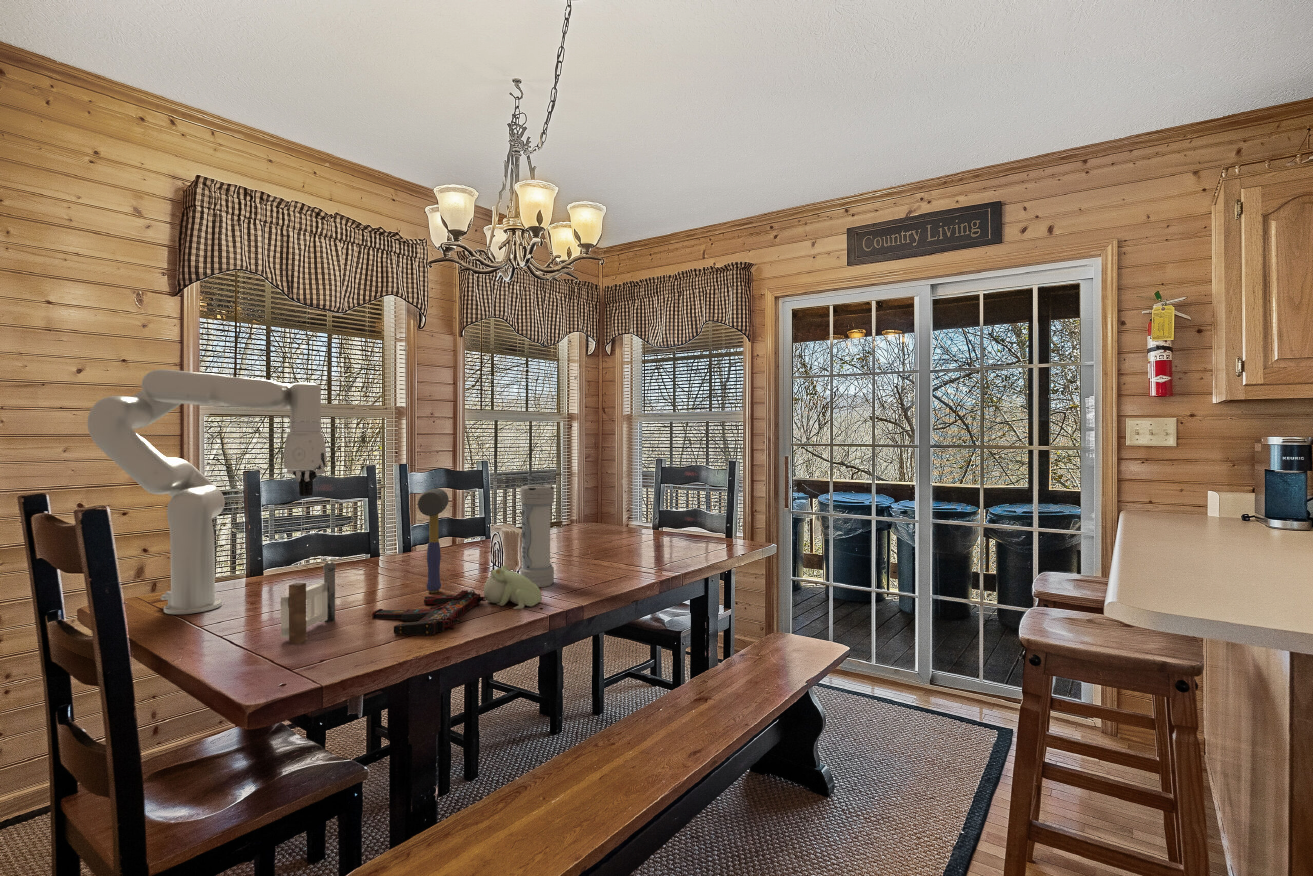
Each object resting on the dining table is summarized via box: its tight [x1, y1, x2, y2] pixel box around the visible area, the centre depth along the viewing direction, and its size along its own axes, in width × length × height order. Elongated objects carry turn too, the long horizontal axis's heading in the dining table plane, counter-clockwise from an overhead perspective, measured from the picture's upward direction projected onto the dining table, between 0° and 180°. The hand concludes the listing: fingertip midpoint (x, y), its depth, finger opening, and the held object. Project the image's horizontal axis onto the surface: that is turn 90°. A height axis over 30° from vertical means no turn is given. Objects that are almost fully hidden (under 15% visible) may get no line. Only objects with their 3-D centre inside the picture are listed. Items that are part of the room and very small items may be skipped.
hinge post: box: [322, 561, 337, 623], centre depth 165 cm, size 3×3×15 cm
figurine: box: [483, 565, 543, 610], centre depth 182 cm, size 10×16×10 cm, turn 74°
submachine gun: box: [371, 589, 488, 636], centre depth 171 cm, size 34×4×25 cm
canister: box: [520, 484, 555, 589], centre depth 204 cm, size 10×10×30 cm
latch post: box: [288, 582, 307, 645], centre depth 148 cm, size 3×2×13 cm
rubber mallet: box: [417, 488, 450, 593], centre depth 193 cm, size 12×8×30 cm, turn 9°
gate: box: [280, 582, 328, 639], centre depth 156 cm, size 2×15×9 cm, turn 173°
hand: (306, 495), depth 182 cm, fingers closed
